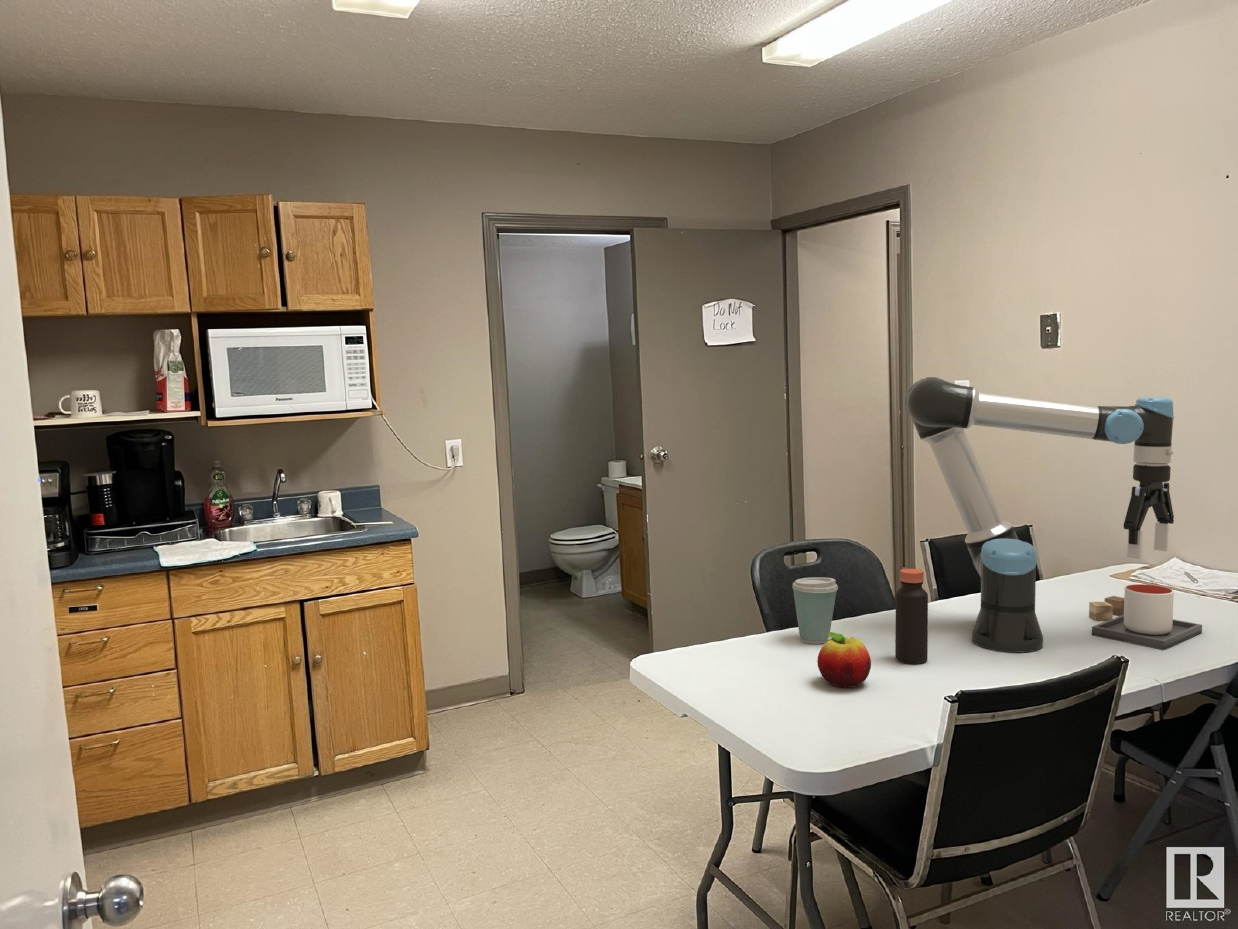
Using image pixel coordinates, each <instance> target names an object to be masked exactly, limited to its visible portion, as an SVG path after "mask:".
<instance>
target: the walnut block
mask: <svg viewBox="0 0 1238 929" xmlns="http://www.w3.org/2000/svg"><path fill="white" fill-rule="evenodd" d="M1104 602H1107V603H1109V604H1111V605H1112V606H1113V616H1116V617H1119V616H1121V615H1124V597H1121V596H1117V595H1112V596H1108V597H1107V596H1106V597H1104Z"/></svg>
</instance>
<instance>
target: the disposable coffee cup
mask: <svg viewBox="0 0 1238 929" xmlns="http://www.w3.org/2000/svg"><path fill="white" fill-rule="evenodd" d="M791 587H792V590H793V597H794V598H793V599H794V605H795V612H796V620H797V626H798V634H799V637H800V640H801V642H803V643H806V644H814V645H816V644H817V645H820V644H825V643H826V642H827V641H828V640H829V638H830V636H827V635H826V634H827V633H828V632H831V629H832V628H831V627H832V621H833V617H834V616H833V615H834V609H835V603H836V597H837V596H836V595H837V590H839V586H838V584H837V583H836V579H834V578H832V577H819V576H818V577H816V576H815V577H814V576H813V577H803V578H798V579H796V580H794V582H792V586H791Z"/></svg>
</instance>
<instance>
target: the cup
mask: <svg viewBox="0 0 1238 929" xmlns="http://www.w3.org/2000/svg"><path fill="white" fill-rule="evenodd" d="M1174 593H1175V592H1174V590H1173V589H1171V588H1169V587H1166V586H1161V585H1154V584H1144V583H1143V584H1140V583H1139V584H1138V583H1137V584H1136V583H1135V584H1128V585H1126V586H1125V587H1124V593H1123V594H1124V597H1123V598H1124V626H1125V627H1126V628H1127V629H1128V630H1130V631H1133V632H1136V633H1140V634H1146V635H1163V634H1167V633H1169V632H1170V631H1171V630H1172V624H1173V618H1174V615H1173V614H1174V595H1175V594H1174Z"/></svg>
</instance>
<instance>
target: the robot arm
mask: <svg viewBox="0 0 1238 929" xmlns="http://www.w3.org/2000/svg"><path fill="white" fill-rule="evenodd" d="M904 404H905V409H906V411H907V414H908V415H909V417H910V418H911V420H912V423H913V425H914V427H915V430H916V432H917V435H918V436H919V438H920V440H921V441H923V442H926V443H928V444H929V447H930V448H931V450H932V453H933V455H934V457H935V459H936V462H937V464H938V467H939V468H940V472H941V474H942V476H943V477H944V480H945V483H946V485H947V487H948V489H949V492H950V494H951V497H952V499H953V501H954V503H955V506H956V508H957V511H958V513H959V515H960V517H961V520H962V522H963V524H964V527H965V528H966V531H967V533H966V534H967V535H966V536H965V539H964V542H965V544H966V548H967V550H968V551H969V555H970V556H971V559H972V563H973V566H974V568H975V570H976V571H977V573H978V575H979V577H980V609H979V612H978V614H977V617H976V620H975V622H974V625H973V628H972V632H971V635H972V636H971V639H972V642H973V643H974V644H975V645H977V646H978V647H979V646H980V647H982V648H985V649H989V650H992V651H993V650H994V651H998V652H1005V653H1006V652H1008V653H1009V652H1010V653H1028V652H1033V651H1038V650H1041V649H1042V648H1043V647H1044V636H1043V633H1042V630H1041V627H1040V626H1041V625H1040V623H1039V621H1038V616H1037V614H1036V586H1037V585H1036V583H1037V581H1036V580H1037V578H1036V577H1037V576H1036V575H1037V564H1038V558H1037V552H1036V549H1035V547H1034V546H1033V544H1031V543H1029V542H1027V541H1023V540H1020V539H1019V537H1018V535H1017V533H1016V530H1015V529H1014V526H1013V524H1012V523H1011V522H1008V521H1006V520H1004V519H1003V517H1002V515H1001V512H1000V510H999V508H998V506H997V504H996V503H997V502H996V501H995V499H994V497H993V494H992V491H991V490H990V487H989V485H988V482H987V481H986V479H985V476H984V473H983V471H982V469H981V466H980V464H979V462H978V459H977V457H976V455H975V453H974V451H973V447H972V445H971V443H970V441H969V438H968V436H967V434H966V432H965V430H966V429H969V428H971V427H973V426H978V427H979V426H980V427H987V428H997V429H1002V430H1003V429H1005V430H1013V431H1014V430H1015V431H1021V432H1022V431H1023V432H1028V433H1038V434H1045V435H1046V434H1047V435H1055V436H1064V437H1071V438H1072V437H1073V438H1079V439H1080V438H1081V439H1087V440H1095V441H1104V442H1108V443H1109V442H1110V443H1114V444H1118V445H1126V444H1131V443H1133V442H1134V446H1133V460H1132V461H1133V463H1135V464H1134V465H1133V466H1132V467H1133V468H1132V479H1133V480H1134V481H1136V482H1139V486H1132V487H1131V494H1130V495H1131V496H1130V499H1129V503H1128V506H1127V511H1126V515H1125V518H1124V522H1123V529H1124V530H1128V532H1127V535H1128V536H1127V553H1126V554H1127V558H1131V559H1137V560H1140V559H1142V548H1143V547H1142V546H1143V530H1141V529H1142V526H1143V523H1144V521H1145V519H1146V516H1147V514H1148V511H1149V509H1150V508H1152V511H1153V513H1154V516H1155V518H1156V521H1157V522H1155V523H1154V540H1153V541H1154V544H1153V550H1155V551H1162V552H1168V549H1169V530H1170V529H1169V528H1170V525H1169V524H1171V525H1172V524H1174V521H1175V520H1174V518H1175V515H1174V510H1173V505H1172V499H1171V493H1170V481H1171V466H1170V465H1169V464H1170V463H1171V462H1172V461H1171V460H1172V459H1171V458H1172V455H1173V454H1174V451H1173V450H1172V441H1173V440H1172V438H1173V426H1174V418H1175V417H1174V401H1173V400H1172V399H1171V398H1169V397H1157V396H1155V397H1154V396H1152V397H1148V396H1147V397H1138V398H1137V399H1136V403H1135V404H1134V405H1129V406H1128V405H1127V406H1122V405H1121V406H1120V405H1119V406H1118V405H1117V406H1116V405H1095V404H1093V405H1091V404H1087V403H1086V404H1084V403H1075V402H1067V401H1058V400H1050V399H1043V398H1033V397H1032V398H1031V397H1024V396H1015V395H1008V394H1007V395H1006V394H997V393H991V392H990V393H988V392H982V391H981V392H980V391H978V389H976V388H975V386H967V385H966V386H965V385H961V384H956V383H953V382H950V381H947V380H945V379H942V378H940V377H936V376H928V377H925V378H921V379H920V380H918V381H915V383H913V384H912V385H911V386H910V387H909V389H908V391H907V393H906V395H905V402H904Z"/></svg>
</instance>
